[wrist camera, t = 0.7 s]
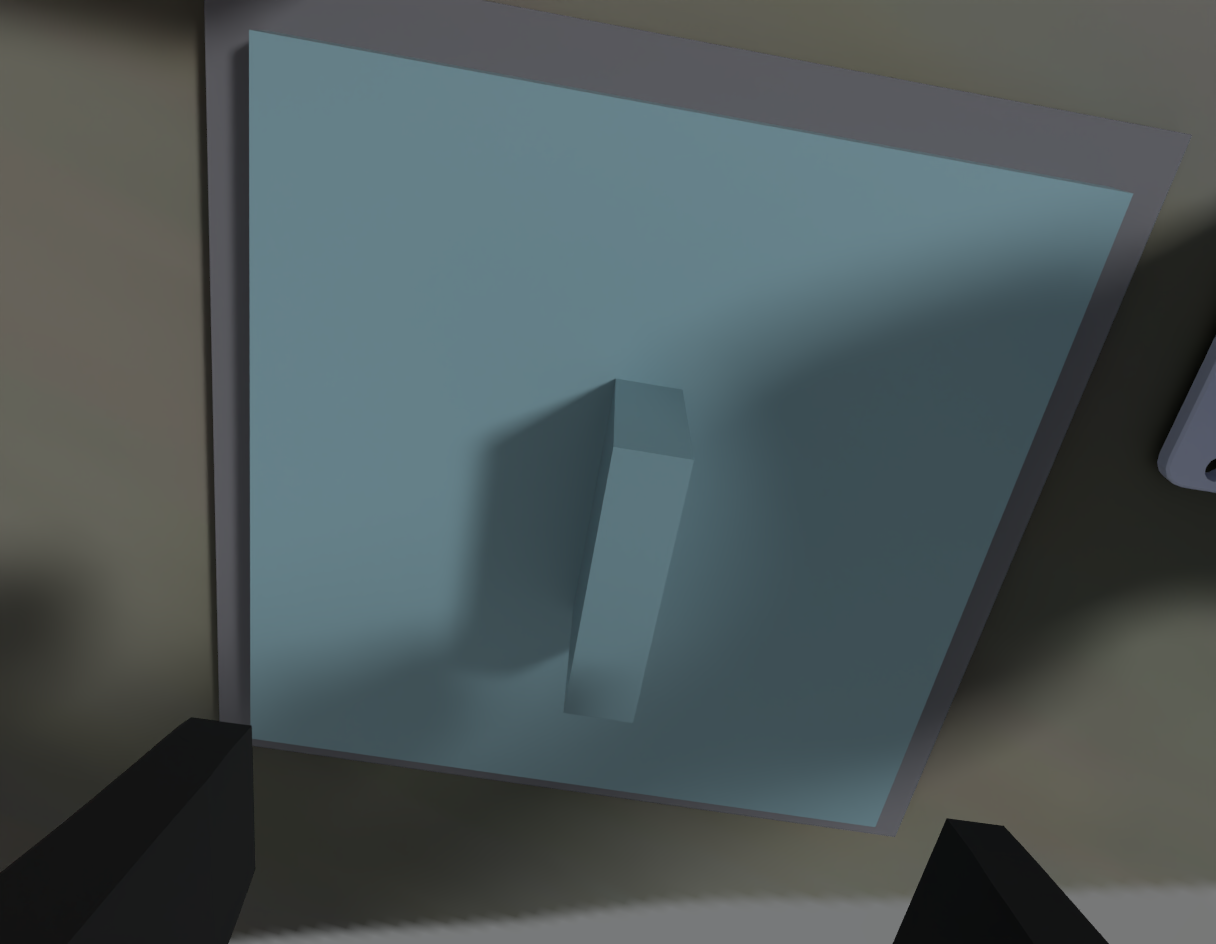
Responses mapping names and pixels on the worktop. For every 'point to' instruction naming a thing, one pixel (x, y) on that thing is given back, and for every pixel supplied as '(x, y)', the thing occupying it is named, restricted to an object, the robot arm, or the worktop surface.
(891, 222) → the cover sheet
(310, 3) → the mat
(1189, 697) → the worktop surface
